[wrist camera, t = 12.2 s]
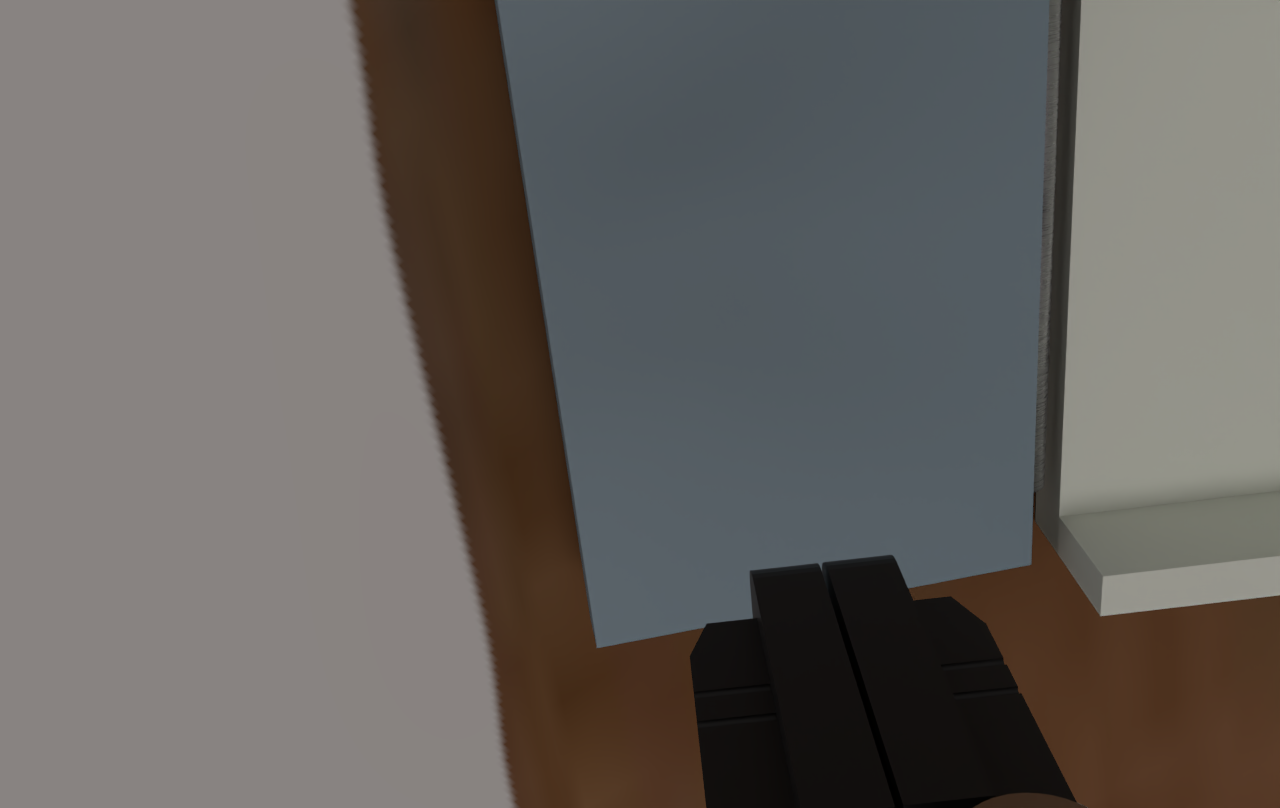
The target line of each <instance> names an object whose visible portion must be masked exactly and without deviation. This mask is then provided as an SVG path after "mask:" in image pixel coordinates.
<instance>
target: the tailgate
mask: <svg viewBox="0 0 1280 808" xmlns="http://www.w3.org/2000/svg"><path fill="white" fill-rule="evenodd" d="M495 6H496V12H497V19H498V25H499V32H500V38H501V45H502V51H503V58H504V64H505V71H506V77H507V83H508V90H509V96H510V103H511V109H512V116H513V122H514V129H515V135H516V141H517V148H518V154H519V161H520V167H521V174H522V180H523V187H524V193H525V199H526V206H527V212H528V219H529V225H530V232H531V238H532V245H533V251H534V257H535V264H536V270H537V277H538V283H539V290H540V296H541V303H542V309H543V315H544V322H545V328H546V335H547V341H548V348H549V354H550V361H551V367H552V374H553V380H554V386H555V393H556V399H557V406H558V412H559V419H560V425H561V432H562V438H563V444H564V451H565V457H566V464H567V470H568V477H569V483H570V490H571V496H572V502H573V509H574V515H575V522H576V528H577V535H578V541H579V548H580V554H581V560H582V567H583V573H584V580H585V586H586V593H587V599H588V606H589V612H590V618H591V623H592V627H593V632H594V636H595V641H596V645H597V648H600V647H606V646H611V645H616V644H621V643H626V642H632V641H637V640H642V639H647V638H652V637H658V636H663V635H668V634H673V633H678V632H683V631H689V630H694V629H699V628H704V627H705V626H706V624H707V623H716V622H725V621H735V620H744V619H751V618H753V613H752V602H751V590H750V570H759V569H768V568H778V567H787V566H796V565H805V564H814V563H818V564H819V565H820V568H821V571H822V564H823V562H829V561H838V560H847V559H856V558H866V557H875V556H884V555H893V556H894V558H895V559H896V561H897V564H898V566H899V568H900V571H901V573H902V575H903V578H904V580H905V582H906V585H907V587H908V588H912V587H917V586H923V585H928V584H933V583H938V582H943V581H949V580H954V579H959V578H964V577H969V576H975V575H980V574H985V573H990V572H995V571H1001V570H1006V569H1011V568H1016V567H1021V566H1027V565H1031V556H1032V525H1033V494H1034V493H1035V492H1038V491H1040V490H1041V489H1042V488H1043V487H1044V484H1045V457H1046V430H1047V402H1048V375H1049V348H1050V320H1051V293H1052V266H1053V238H1054V211H1055V184H1056V156H1057V129H1058V102H1059V75H1060V47H1061V20H1062V0H495Z"/></svg>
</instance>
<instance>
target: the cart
mask: <svg viewBox="0 0 1280 808" xmlns="http://www.w3.org/2000/svg"><path fill="white" fill-rule="evenodd" d="M1035 522H1036V523H1037V525H1038V526H1039V528H1040V529H1041V531H1042V532H1043V533H1044V535H1045V536H1046V538H1047V539H1048V541H1049V542H1050V544H1051V545H1052V547H1053V548H1054V549H1055V551H1056V552H1057V554H1058V555H1059V557H1060V558H1061V560H1062V561H1063V563H1064V564H1065V565H1066V567H1067V568H1068V570H1069V571H1070V573H1071V574H1072V576H1073V577H1074V578H1075V580H1076V581H1077V583H1078V584H1079V586H1080V587H1081V589H1082V590H1083V592H1084V593H1085V594H1086V596H1087V597H1088V599H1089V600H1090V602H1091V603H1092V605H1093V606H1094V607H1095V609H1096V610H1097V612H1098V613H1099V615H1100V616H1106V615H1115V614H1123V613H1132V612H1140V611H1149V610H1157V609H1166V608H1175V607H1183V606H1192V605H1200V604H1209V603H1217V602H1226V601H1234V600H1243V599H1252V598H1260V597H1269V596H1277V595H1280V0H1062V20H1061V47H1060V75H1059V102H1058V129H1057V156H1056V184H1055V211H1054V238H1053V266H1052V293H1051V320H1050V348H1049V375H1048V402H1047V430H1046V457H1045V484H1044V487H1043V488H1042V489H1041V490H1040V491H1038V492H1036V511H1035Z"/></svg>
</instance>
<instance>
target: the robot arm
mask: <svg viewBox="0 0 1280 808" xmlns="http://www.w3.org/2000/svg"><path fill="white" fill-rule="evenodd" d="M750 590H751V602H752V613H753V619H744V620H735V621H725V622H716V623H707V624H706V626H705V628H704V630H703V632H702V634H701V636H700V638H699V640H698V642H697V643H696V645H695V647H694V649H693V651H692V653H691V655H690V662H691V671H692V680H693V689H694V698H695V707H696V716H697V725H698V735H699V744H700V753H701V762H702V771H703V780H704V790H705V799H706V808H1087V807H1086V806H1084V805H1081V804H1079V803H1077V802H1076V800H1075V798H1074V796H1073V794H1072V792H1071V790H1070V788H1069V786H1068V784H1067V782H1066V781H1065V779H1064V777H1063V775H1062V773H1061V771H1060V769H1059V767H1058V765H1057V763H1056V761H1055V759H1054V757H1053V755H1052V753H1051V751H1050V749H1049V747H1048V745H1047V743H1046V741H1045V739H1044V737H1043V735H1042V733H1041V731H1040V729H1039V727H1038V725H1037V723H1036V721H1035V719H1034V718H1033V716H1032V714H1031V712H1030V710H1029V708H1028V706H1027V704H1026V702H1025V700H1024V698H1023V696H1022V694H1019V692H1018V686H1017V684H1016V682H1015V680H1014V678H1013V676H1012V674H1011V672H1010V670H1009V668H1008V666H1007V665H1004V661H1003V656H1002V655H1001V653H1000V651H999V649H998V647H997V645H996V643H995V641H994V639H993V637H992V635H991V633H990V631H989V629H988V627H987V625H986V623H984V622H983V621H982V620H980V619H979V618H978V617H976V616H975V615H974V614H973V613H971V612H970V611H969V610H967V609H966V608H965V607H964V606H962V605H961V604H960V603H958V602H957V601H956V600H955V599H953V598H952V597H941V598H932V599H923V600H914V601H913V599H912V597H911V594H910V592H909V589H908V587H907V585H906V582H905V580H904V578H903V575H902V573H901V571H900V568H899V566H898V564H897V561H896V559H895V558H894V556H893V555H884V556H875V557H866V558H856V559H847V560H838V561H829V562H823V564H822V571H821V568H820V565H819V564H818V563H814V564H805V565H796V566H787V567H778V568H768V569H759V570H750Z"/></svg>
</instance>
